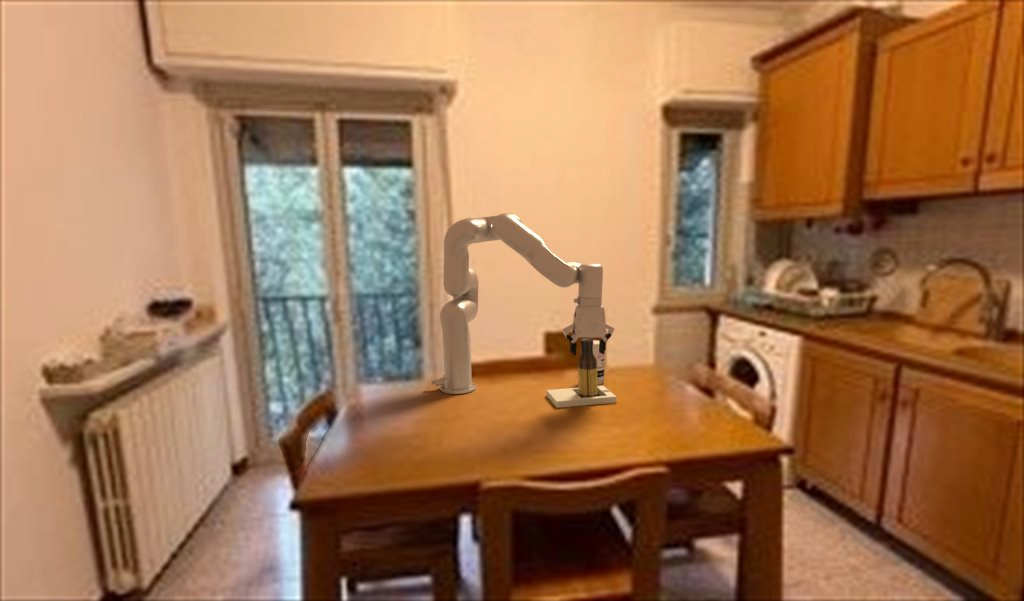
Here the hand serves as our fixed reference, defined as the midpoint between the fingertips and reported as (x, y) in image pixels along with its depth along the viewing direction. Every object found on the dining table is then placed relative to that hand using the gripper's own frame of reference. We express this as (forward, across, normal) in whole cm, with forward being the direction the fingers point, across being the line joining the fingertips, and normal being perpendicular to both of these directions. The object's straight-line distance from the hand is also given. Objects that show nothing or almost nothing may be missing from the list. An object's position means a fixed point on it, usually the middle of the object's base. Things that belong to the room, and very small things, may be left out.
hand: (587, 353), depth 184 cm
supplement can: (+15, +8, +16) cm, 23 cm away
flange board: (+15, -2, 0) cm, 15 cm away
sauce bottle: (+15, 0, 0) cm, 15 cm away
